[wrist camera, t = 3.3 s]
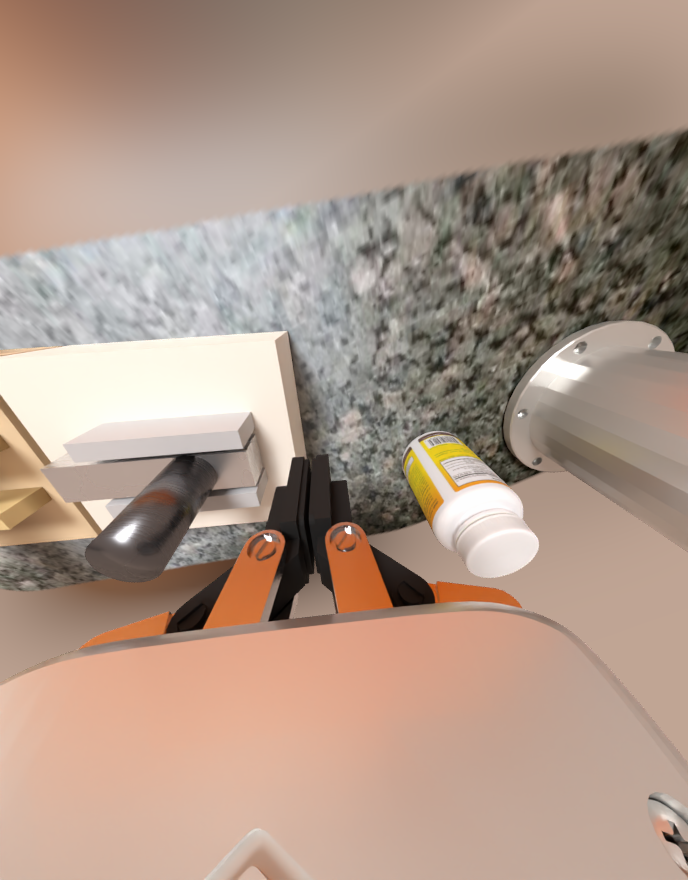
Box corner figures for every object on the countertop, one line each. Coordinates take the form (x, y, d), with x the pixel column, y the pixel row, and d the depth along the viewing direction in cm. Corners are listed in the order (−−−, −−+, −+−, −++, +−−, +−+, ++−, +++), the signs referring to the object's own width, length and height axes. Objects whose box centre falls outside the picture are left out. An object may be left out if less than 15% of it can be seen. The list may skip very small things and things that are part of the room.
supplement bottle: (421, 489, 24) (479, 598, 15) (387, 455, 22) (432, 558, 13) (471, 455, 23) (569, 554, 14) (440, 415, 20) (533, 500, 11)
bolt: (254, 432, 14) (202, 528, 8) (263, 466, 15) (224, 573, 9) (74, 446, 14) (-125, 559, 8) (97, 481, 15) (-60, 602, 9)
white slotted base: (287, 331, 17) (264, 347, 10) (309, 475, 22) (303, 545, 16) (70, 345, 16) (-103, 372, 10) (150, 489, 22) (76, 568, 15)
